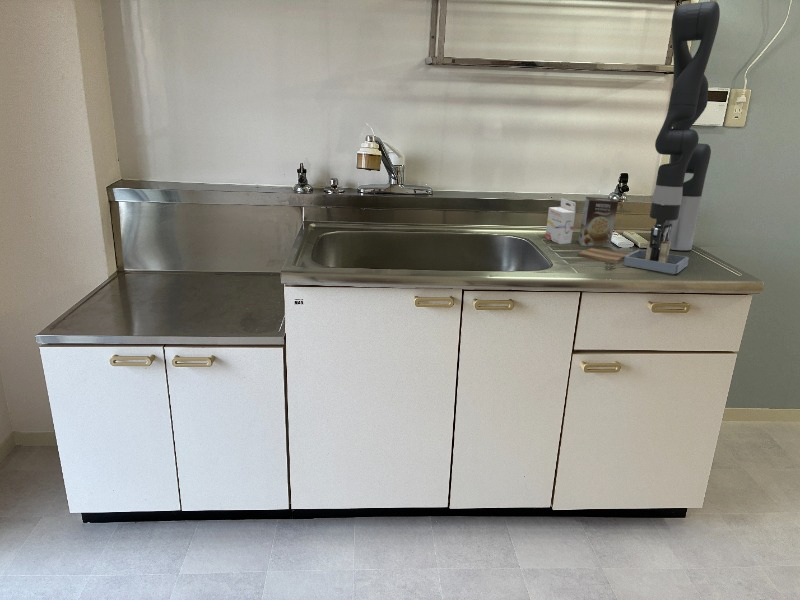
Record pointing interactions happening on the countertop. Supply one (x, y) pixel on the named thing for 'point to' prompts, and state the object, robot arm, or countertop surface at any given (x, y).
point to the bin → (656, 262)
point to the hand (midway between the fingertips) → (656, 260)
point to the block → (663, 251)
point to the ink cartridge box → (561, 222)
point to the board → (603, 255)
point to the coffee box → (598, 221)
